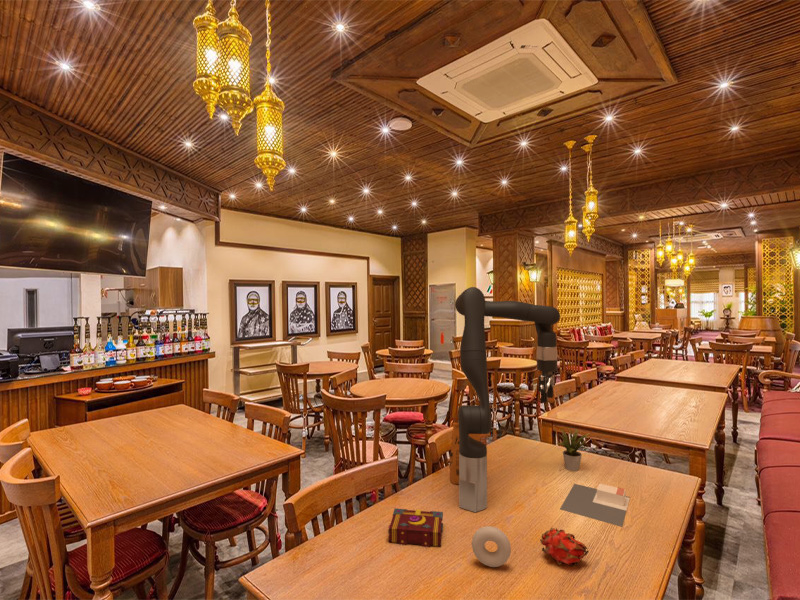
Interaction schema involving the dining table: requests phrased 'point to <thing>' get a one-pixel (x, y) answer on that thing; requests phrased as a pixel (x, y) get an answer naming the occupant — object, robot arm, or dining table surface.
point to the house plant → (572, 450)
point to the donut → (486, 556)
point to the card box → (611, 494)
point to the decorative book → (416, 527)
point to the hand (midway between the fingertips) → (547, 399)
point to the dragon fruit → (563, 547)
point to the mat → (593, 506)
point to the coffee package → (457, 453)
